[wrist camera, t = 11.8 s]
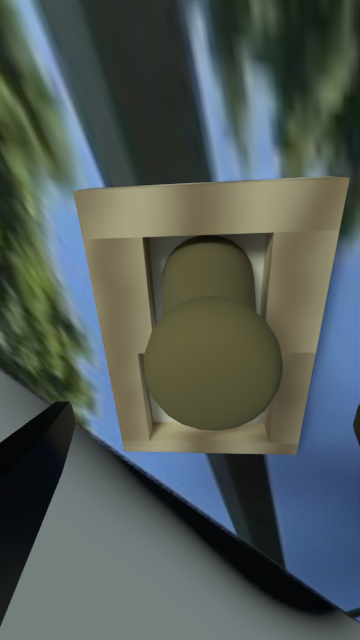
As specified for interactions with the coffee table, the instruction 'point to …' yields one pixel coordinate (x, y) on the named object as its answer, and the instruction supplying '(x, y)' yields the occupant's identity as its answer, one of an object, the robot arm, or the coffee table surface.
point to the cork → (211, 339)
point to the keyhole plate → (269, 278)
